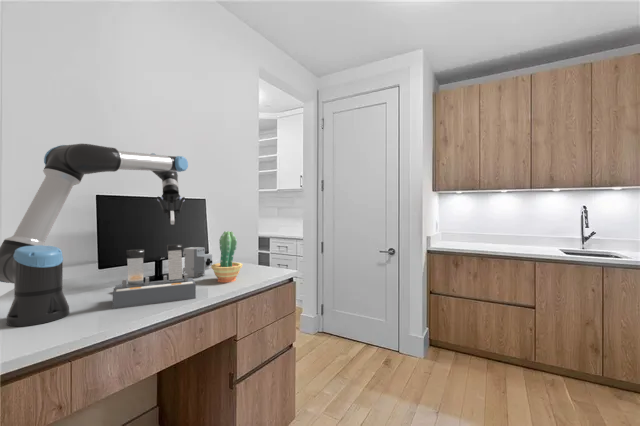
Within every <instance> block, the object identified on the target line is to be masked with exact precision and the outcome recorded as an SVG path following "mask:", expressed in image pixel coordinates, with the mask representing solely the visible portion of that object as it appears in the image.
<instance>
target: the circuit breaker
mask: <svg viewBox="0 0 640 426" xmlns="http://www.w3.org/2000/svg"><path fill="white" fill-rule="evenodd" d="M205 252H206V247H200V246H197V247H196V246H191V247H185V248H183V251H182V258H183V257H184V267H182V275H184V274H186V273H187V275H188V278H199V277H202V276H204V275H205V274H206V272H205V271H207V270H211V269H212V268H211V265H213V264H214V263H213V262H214V261H213V254H207V253H205Z"/></svg>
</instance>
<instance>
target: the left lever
mask: <svg viewBox="0 0 640 426" xmlns="http://www.w3.org/2000/svg"><path fill="white" fill-rule="evenodd" d="M144 258H145V249H129V250H128V249H126V252H125V259H126V261H127V262H126V263H127V284H128V286H134V285H143V282H144Z"/></svg>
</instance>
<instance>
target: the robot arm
mask: <svg viewBox="0 0 640 426" xmlns="http://www.w3.org/2000/svg"><path fill="white" fill-rule="evenodd" d="M43 163H44V165H45V166H44V167H43V169H42V172H43V173H44V175H45V177H44V179H43V181H42V182H41V184H40V186H39V188H38V189H37V192H36V193H35V196H34V197H33V198H32V201H31V203H30V204H29V206H28V208H27V210H26V212H25V213H24V216H23V217H22V218H21V221H20V223H19V224H18V226H17V228H16V230H15V232H14V234H13V235H12V236H10V237H7V238H4V240H3V242H2V243H1V245H0V283H5V284H6V283H7V284H9V283H10V284H13V285H14V289H13V290H14V291H13V292H14V298H13V300H12V303H11V306H10V308H9V309H8V313H7V315H6V325H7V326H10V327H27V326H36V325H40V324H45V323H51V322H53V321H57V320H60V319H62V318H65V317H67V316H68V315H69V314H70V305H69V303H68V301H67V299H66V297H65V294H64V291H63V285H64V284H63V277H64V276H63V272H64V271H63V270H64V269H63V268H64V266H63V264H64V263H63V262H64V256H63V250H61V248H60V247H57V246H55V245H54V246H53V245H46V244H45V242H46V240H47V238H48V236H49V234H50V233H51V230H52V228H53V227H54V224H55V223H56V221H57V218H58V216H59V215H60V212H61V211H62V208H63V207H64V204H65V202H66V201H67V199H68V196H69V194H70V192H71V191H72V188H73V187H74V186H76V185H79V184H80V183H81V182H82V179H83V178H84V176H85V175H90V174H91V175H92V174H98V173H106V172H110V173H111V172H114V173H115V172H118V171H119V170H122V171H123V170H125V171H126V170H127V171H148V172H149V171H151V172H152V173H153V174H154V175H156V176H157V177H158V178H159V179H160V180H161V184H162V194H161V196H157V197H156V201H157V203H158V204H159V205H160V208H161V211H162V213H163V214H167V218H168V219H170V225H175V221H176V220H175V219H177V217H178V215H177V214H180V213H181V211H182V207H183V204H184V203H185V201H186V200H185V199H186V198H185V196H183V197H181V195H180V190H179V180H178V178H179V175H178V173H179V172H180V173H181V172H185V171H187V169H188V168H189V162H188V160H187V158H186V157H185V156H183V155H182V156H181V155H176V156H171V155H165V154H164V155H161V154H157V153H153V152H152V153H144V152H143V153H142V152H135V151H134V152H132V151H124V150H122V151H121V150H118V149H117V148H116V147H110V146H103V145H97V144H90V143H76V144H62V145H61V144H60V145H57V146H55V147H52V148H50V149H49V150H48V151H46V153H45V154H44V156H43ZM178 201H179V203H178V207H177V202H178ZM164 202H166V205H165V203H164ZM171 204H172V210H171ZM166 207H167V208H166Z"/></svg>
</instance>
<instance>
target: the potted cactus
mask: <svg viewBox="0 0 640 426" xmlns="http://www.w3.org/2000/svg"><path fill="white" fill-rule="evenodd" d="M237 245H238V239H237V237H236V235H235V234H234V232H233V231H229V230H228V231H224V232H223V233H222V234H221V236H220V238H219V250H220V251H219V252H220V260H219V261H220V262H218V263H212V265H211V269H212V271H213V272H214V276H215V277H216V278H217V282H218V283H232V282H233V283H234V282H235V281H236V280H237V277H238V275H240V274H239V273H240V271H241V268H243V265H244V264H243V263H241V262H233V261H234V255H235V252H236V250H237V247H238V246H237Z"/></svg>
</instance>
